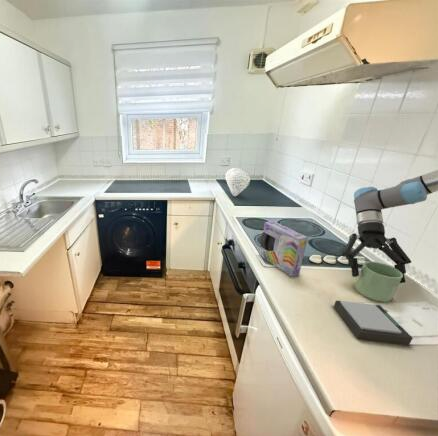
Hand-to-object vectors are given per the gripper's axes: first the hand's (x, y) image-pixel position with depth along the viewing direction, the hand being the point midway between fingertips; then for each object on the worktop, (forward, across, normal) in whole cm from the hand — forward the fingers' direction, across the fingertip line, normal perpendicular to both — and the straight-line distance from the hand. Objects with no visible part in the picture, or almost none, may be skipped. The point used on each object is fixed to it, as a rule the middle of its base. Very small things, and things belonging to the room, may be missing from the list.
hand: (378, 279), depth 85 cm
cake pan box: (-3, +30, -13) cm, 33 cm away
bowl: (+4, 0, -4) cm, 6 cm away
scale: (+17, +10, +8) cm, 21 cm away
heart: (-75, +43, -84) cm, 120 cm away
